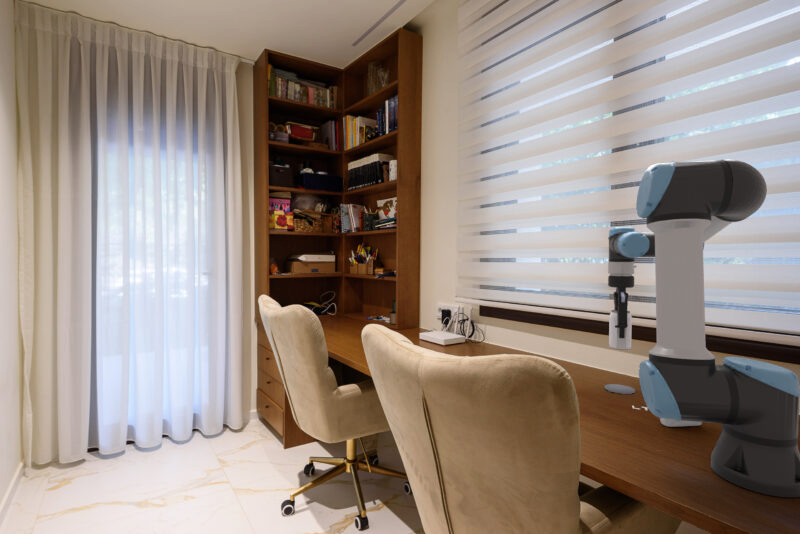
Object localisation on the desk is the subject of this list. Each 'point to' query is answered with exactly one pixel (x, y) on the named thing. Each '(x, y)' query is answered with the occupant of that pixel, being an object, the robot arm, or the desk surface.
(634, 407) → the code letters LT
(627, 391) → the felt coaster
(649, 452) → the desk surface
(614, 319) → the can
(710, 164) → the robot arm
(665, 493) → the desk surface
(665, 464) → the desk surface
